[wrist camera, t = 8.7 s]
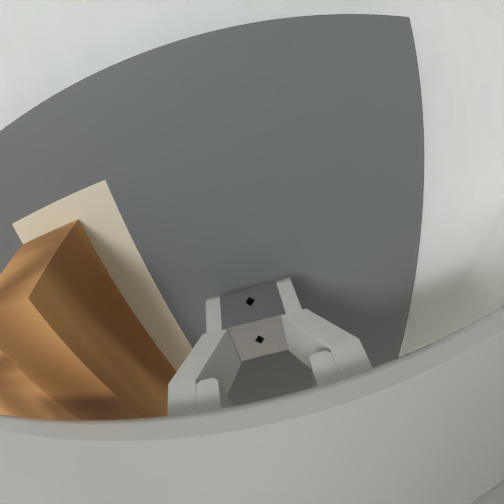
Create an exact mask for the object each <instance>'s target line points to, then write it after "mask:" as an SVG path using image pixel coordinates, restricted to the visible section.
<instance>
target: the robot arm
mask: <svg viewBox="0 0 504 504" xmlns="http://www.w3.org/2000/svg"><path fill="white" fill-rule="evenodd" d="M205 303H206V332H207V333H206V334H202V336H201V337H200V339H199V340H198V342H197V343H196V345H195V346H194V347H193V349H192V350H191V352H190V353H189V355H188V356H187V358H186V359H185V361H184V362H183V363H182V365H181V366H180V368H179V369H178V371H177V372H176V374H175V375H174V377H173V378H172V379H171V381H170V382H169V384H168V410H167V416H160V417H149V418H136V419H116V420H60V419H41V418H29V417H19V416H10V415H3V414H0V504H504V306H502V307H500V308H499V309H497V310H495V311H493V312H492V313H490V314H488V315H486V316H485V317H483V318H481V319H479V320H477V321H476V322H474V323H472V324H470V325H468V326H466V327H464V328H462V329H460V330H458V331H456V332H454V333H452V334H450V335H448V336H446V337H444V338H442V339H440V340H438V341H436V342H434V343H432V344H429V345H427V346H425V347H423V348H420V349H418V350H416V351H414V352H411V353H409V354H406V355H404V356H402V357H399V358H397V359H394V360H392V361H389V362H387V363H384V364H381V365H379V366H376V367H372V365H371V363H370V361H369V359H368V357H367V355H366V352H365V350H364V348H363V346H362V344H361V342H360V340H359V338H357V337H355V336H353V335H352V334H350V333H348V332H346V331H345V330H343V329H341V328H339V327H338V326H336V325H334V324H332V323H331V322H329V321H327V320H325V319H324V318H322V317H320V316H319V315H317V314H315V313H313V312H312V311H310V310H308V309H307V308H306V309H303V310H302V307H301V305H300V302H299V299H298V297H297V294H296V291H295V289H294V286H293V284H292V281H291V279H290V278H286V279H283V280H279V281H276V282H273V283H270V284H266V285H262V286H258V287H254V288H251V289H247V290H242V291H238V292H233V293H229V294H224V295H220V296H217V297H212V298H208V299H206V302H205ZM285 350H289V351H290V352H291V353H292V354H293V355H295V356H296V357H297V358H298V359H299V360H301V361H302V362H303V363H304V364H305V365H307V366H308V367H309V368H310V369H311V378H312V388H309V389H305V390H302V391H298V392H294V393H290V394H286V395H283V396H278V397H274V398H270V399H266V400H261V401H256V402H252V403H247V404H242V405H237V406H234V405H233V404H232V402H231V400H230V399H229V397H228V396H227V394H228V392H229V390H230V388H231V385H232V383H233V381H234V379H235V377H236V374H237V372H238V370H239V368H240V365H241V363H242V362H241V361H244V360H248V359H252V358H256V357H259V356H263V355H267V354H272V353H276V352H281V351H285Z"/></svg>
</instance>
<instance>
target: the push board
mask: <svg viewBox="0 0 504 504" xmlns="http://www.w3.org/2000/svg"><path fill="white" fill-rule="evenodd" d="M423 190H424V129H423V111H422V98H421V87H420V78H419V70H418V63H417V56H416V50H415V44H414V38H413V33H412V28H411V23H410V18H409V17H402V16H389V15H369V14H334V15H314V16H301V17H291V18H282V19H275V20H268V21H261V22H255V23H249V24H244V25H239V26H234V27H229V28H225V29H220V30H216V31H212V32H208V33H204V34H200V35H196V36H193V37H189V38H186V39H183V40H179V41H176V42H173V43H170V44H167V45H164V46H161V47H158V48H155V49H152V50H149V51H147V52H144V53H141V54H139V55H136V56H134V57H131V58H129V59H126V60H124V61H121V62H119V63H117V64H115V65H112V66H110V67H108V68H106V69H103V70H101V71H99V72H97V73H95V74H93V75H91V76H89V77H87V78H85V79H83V80H81V81H79V82H77V83H75V84H73V85H71V86H70V87H68V88H66V89H64V90H62V91H61V92H59V93H57V94H55V95H54V96H52V97H50V98H49V99H47V100H45V101H44V102H42V103H40V104H39V105H37V106H36V107H34V108H33V109H31V110H30V111H28V112H27V113H25V114H24V115H22V116H21V117H19V118H18V119H16V120H15V121H13V122H12V123H11V124H9V125H8V126H7V127H5V128H4V129H3V130H1V131H0V274H1V272H2V271H3V270H4V268H5V267H6V266H7V264H8V263H9V261H10V260H11V259H12V257H13V256H14V255H15V253H16V252H17V251H18V250H19V248H20V247H21V246H22V245H23V244H25V243H27V242H29V241H31V240H33V239H35V238H37V237H39V236H41V235H44V234H46V233H48V232H50V231H52V230H55V229H57V228H59V227H61V226H64V225H66V224H68V223H70V222H73V221H75V220H77V219H78V220H79V221H80V223H81V225H82V227H83V229H84V231H85V233H86V235H87V237H88V238H89V240H90V242H91V244H92V246H93V247H94V249H95V251H96V253H97V254H98V256H99V258H100V260H101V261H102V263H103V265H104V266H105V268H106V270H107V271H108V273H109V275H110V276H111V278H112V280H113V281H114V283H115V285H116V286H117V288H118V289H119V291H120V292H121V294H122V296H123V297H124V299H125V300H126V302H127V303H128V305H129V306H130V308H131V309H132V311H133V312H134V314H135V315H136V317H137V318H138V320H139V321H140V323H141V324H142V325H143V327H144V328H145V330H146V331H147V333H148V334H149V335H150V337H151V338H152V340H153V341H154V342H155V344H156V345H157V346H158V348H159V349H160V350H161V352H162V353H163V354H164V356H165V357H166V358H167V360H168V361H169V362H170V364H171V365H172V366H173V367H174V369H175V370H176V371H178V369H179V368H180V366H181V365H182V363H183V362H184V361H185V359H186V358H187V356H188V355H189V353H190V352H191V350H192V349H193V347H194V346H195V345H196V343H197V342H198V340H199V339H200V337H201V336H202V334H206V333H207V332H206V303H205V302H206V299H208V298H212V297H217V296H220V295H224V294H229V293H233V292H238V291H242V290H247V289H251V288H254V287H258V286H262V285H266V284H270V283H273V282H276V281H279V280H283V279H286V278H290V279H291V281H292V284H293V286H294V289H295V291H296V294H297V297H298V299H299V302H300V305H301V307H302V310H303V309H306V308H307V309H308V310H310V311H312V312H313V313H315V314H317V315H319V316H320V317H322V318H324V319H325V320H327V321H329V322H331V323H332V324H334V325H336V326H338V327H339V328H341V329H343V330H345V331H346V332H348V333H350V334H352V335H353V336H355V337H357V338H359V340H360V342H361V344H362V346H363V348H364V350H365V352H366V355H367V357H368V359H369V361H370V363H371V365H372V367H376V366H379V365H381V364H384V363H387V362H389V361H392V360H394V359H397V358H398V356H399V352H400V348H401V344H402V340H403V336H404V331H405V327H406V322H407V318H408V313H409V308H410V303H411V297H412V292H413V286H414V280H415V273H416V266H417V259H418V251H419V243H420V233H421V222H422V208H423ZM241 362H242V363H241V365H240V368H239V370H238V372H237V374H236V377H235V379H234V381H233V383H232V385H231V388H230V390H229V392H228V394H227V396H228V397H229V399H230V400H231V402H232V404H233V405H234V406H237V405H242V404H247V403H252V402H256V401H261V400H266V399H270V398H274V397H278V396H283V395H286V394H290V393H294V392H298V391H302V390H305V389H309V388H312V378H311V369H310V368H309V367H308V366H307V365H305V364H304V363H303V362H302V361H301V360H299V359H298V358H297V357H296V356H295V355H293V354H292V353H291V352H290V351H289V350H285V351H281V352H276V353H272V354H267V355H263V356H259V357H256V358H252V359H248V360H244V361H241Z"/></svg>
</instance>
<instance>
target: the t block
mask: <svg viewBox="0 0 504 504" xmlns="http://www.w3.org/2000/svg"><path fill="white" fill-rule="evenodd" d="M176 372H177V371H176V370H175V369H174V367H173V366H172V365H171V364H170V362H169V361H168V360H167V358H166V357H165V356H164V354H163V353H162V352H161V350H160V349H159V348H158V346H157V345H156V344H155V342H154V341H153V340H152V338H151V337H150V335H149V334H148V333H147V331H146V330H145V328H144V327H143V325H142V324H141V323H140V321H139V320H138V318H137V317H136V315H135V314H134V312H133V311H132V309H131V308H130V306H129V305H128V303H127V302H126V300H125V299H124V297H123V296H122V294H121V292H120V291H119V289H118V288H117V286H116V285H115V283H114V281H113V280H112V278H111V276H110V275H109V273H108V271H107V270H106V268H105V266H104V265H103V263H102V261H101V260H100V258H99V256H98V254H97V253H96V251H95V249H94V247H93V246H92V244H91V242H90V240H89V238H88V237H87V235H86V233H85V231H84V229H83V227H82V225H81V223H80V221H79V220H78V219H77V220H75V221H73V222H70V223H68V224H66V225H64V226H61V227H59V228H57V229H55V230H52V231H50V232H48V233H46V234H44V235H41V236H39V237H37V238H35V239H33V240H31V241H29V242H27V243H25V244H23V245H22V246H21V247H20V248H19V250H18V251H17V252H16V253H15V255H14V256H13V257H12V259H11V260H10V261H9V263H8V264H7V266H6V267H5V268H4V270H3V271H2V272H1V274H0V414H3V415H10V416H19V417H29V418H41V419H60V420H116V419H136V418H149V417H160V416H167V410H168V384H169V382H170V381H171V379H172V378H173V377H174V375H175V374H176Z"/></svg>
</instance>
